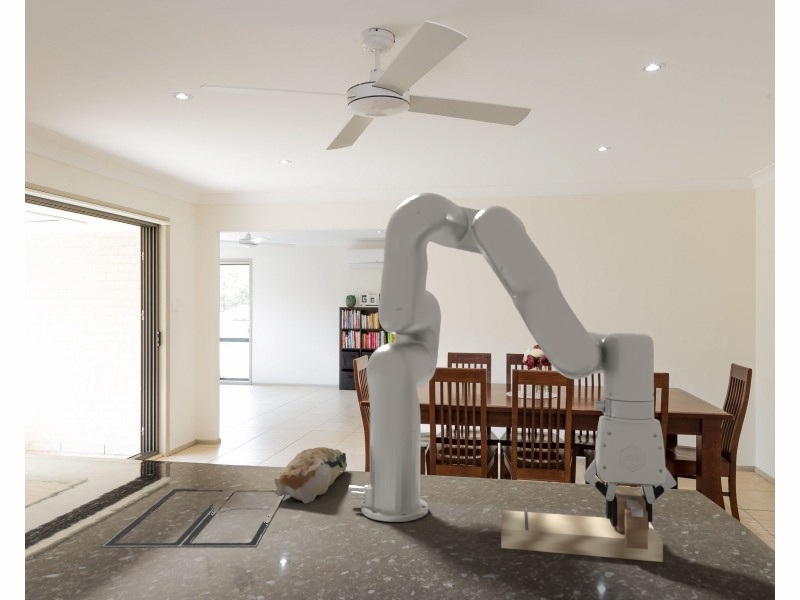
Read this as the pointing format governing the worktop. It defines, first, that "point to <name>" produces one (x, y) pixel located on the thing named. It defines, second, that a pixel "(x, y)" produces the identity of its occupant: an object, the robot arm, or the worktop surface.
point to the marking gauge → (632, 518)
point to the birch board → (573, 536)
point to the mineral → (310, 473)
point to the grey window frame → (187, 535)
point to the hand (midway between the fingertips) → (628, 523)
